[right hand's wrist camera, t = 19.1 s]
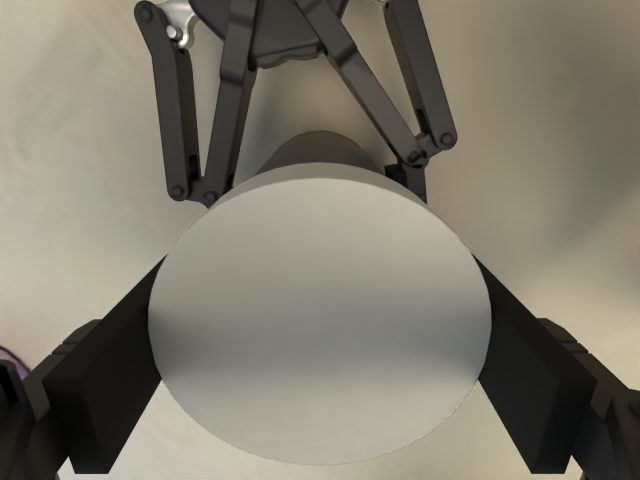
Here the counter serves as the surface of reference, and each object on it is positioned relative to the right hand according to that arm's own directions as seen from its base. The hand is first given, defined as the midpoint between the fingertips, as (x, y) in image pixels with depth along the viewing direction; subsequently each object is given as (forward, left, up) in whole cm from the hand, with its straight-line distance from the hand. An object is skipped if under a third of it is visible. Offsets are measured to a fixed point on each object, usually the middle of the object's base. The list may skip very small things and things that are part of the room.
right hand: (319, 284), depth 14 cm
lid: (0, 0, +3) cm, 3 cm away
